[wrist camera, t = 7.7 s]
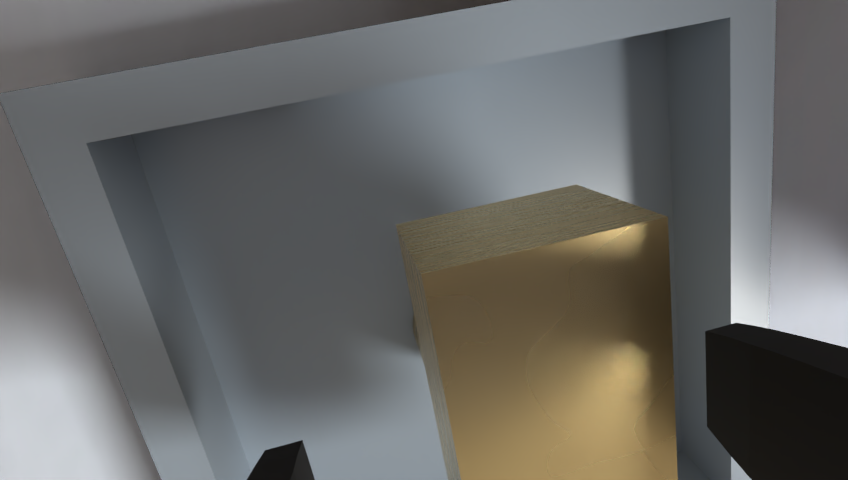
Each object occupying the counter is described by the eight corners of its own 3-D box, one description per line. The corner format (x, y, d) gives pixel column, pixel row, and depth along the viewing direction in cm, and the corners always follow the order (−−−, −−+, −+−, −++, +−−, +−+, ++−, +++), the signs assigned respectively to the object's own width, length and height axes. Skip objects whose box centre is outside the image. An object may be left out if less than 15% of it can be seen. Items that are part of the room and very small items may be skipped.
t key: (529, 436, 14) (686, 703, 8) (433, 463, 14) (516, 764, 8) (490, 153, 12) (667, 217, 6) (372, 178, 12) (421, 274, 5)
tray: (689, -20, 12) (778, -48, 10) (701, 457, 16) (764, 518, 14) (73, 94, 10) (-3, 94, 8) (262, 588, 15) (248, 683, 12)
